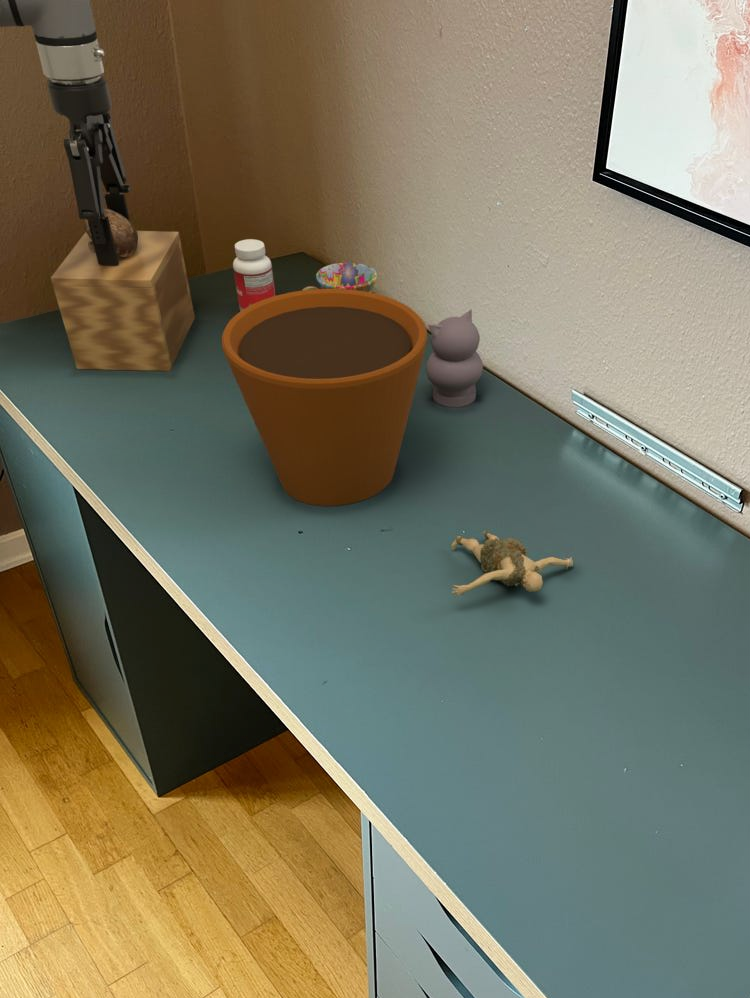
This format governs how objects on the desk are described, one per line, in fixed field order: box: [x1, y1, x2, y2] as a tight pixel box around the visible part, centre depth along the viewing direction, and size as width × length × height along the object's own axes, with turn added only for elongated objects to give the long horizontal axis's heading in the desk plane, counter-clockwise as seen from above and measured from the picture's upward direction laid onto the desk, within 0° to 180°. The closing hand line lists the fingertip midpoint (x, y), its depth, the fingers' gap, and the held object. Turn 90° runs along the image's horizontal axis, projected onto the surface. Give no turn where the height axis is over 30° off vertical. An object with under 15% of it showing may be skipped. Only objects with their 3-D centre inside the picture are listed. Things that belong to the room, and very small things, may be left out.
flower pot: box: [221, 288, 428, 507], centre depth 118 cm, size 24×24×20 cm
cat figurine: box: [425, 309, 484, 408], centre depth 136 cm, size 8×8×12 cm
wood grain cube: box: [50, 230, 196, 372], centre depth 145 cm, size 14×18×14 cm
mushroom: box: [84, 208, 138, 257], centre depth 139 cm, size 8×8×6 cm
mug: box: [301, 262, 378, 293], centre depth 149 cm, size 12×9×11 cm
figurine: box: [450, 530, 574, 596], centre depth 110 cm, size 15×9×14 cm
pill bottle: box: [232, 238, 276, 312], centre depth 155 cm, size 6×6×11 cm
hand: (116, 251), depth 140 cm, fingers closed on mushroom, 8 cm apart
